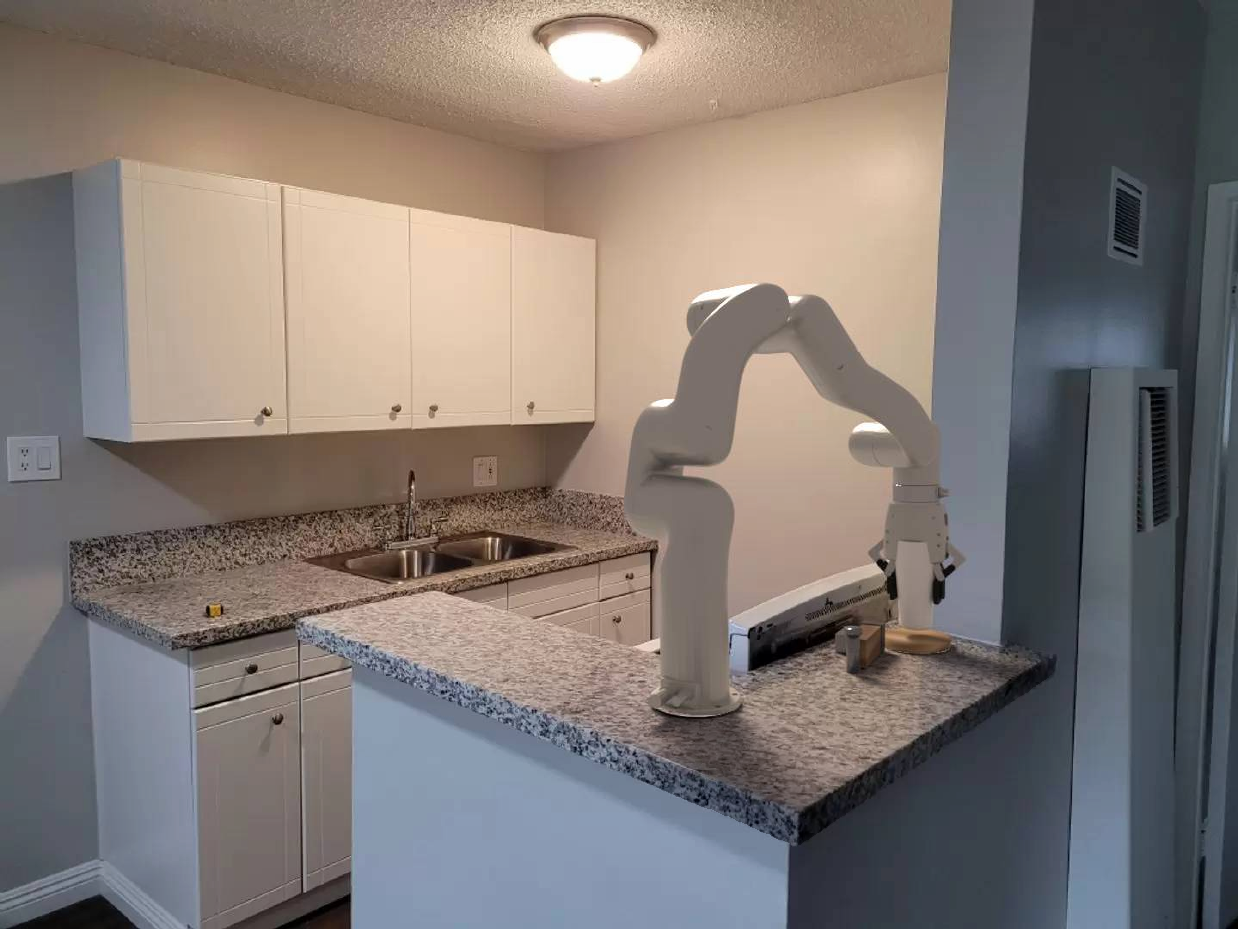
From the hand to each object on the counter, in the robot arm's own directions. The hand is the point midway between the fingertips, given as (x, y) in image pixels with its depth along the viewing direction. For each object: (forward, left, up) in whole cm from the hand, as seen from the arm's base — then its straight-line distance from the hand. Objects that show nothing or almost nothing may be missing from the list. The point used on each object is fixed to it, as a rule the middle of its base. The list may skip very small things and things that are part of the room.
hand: (915, 600), depth 150 cm
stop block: (-8, +9, -8) cm, 15 cm away
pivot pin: (-19, +5, -8) cm, 21 cm away
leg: (-11, +5, -8) cm, 14 cm away
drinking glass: (0, 0, -5) cm, 5 cm away
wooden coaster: (0, 0, -8) cm, 8 cm away
